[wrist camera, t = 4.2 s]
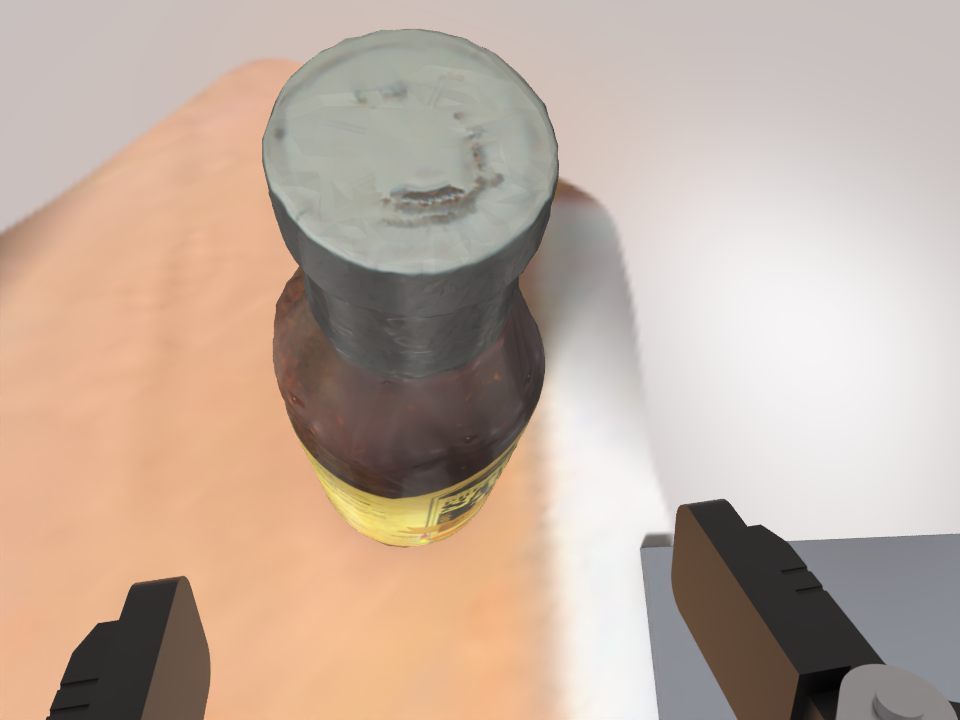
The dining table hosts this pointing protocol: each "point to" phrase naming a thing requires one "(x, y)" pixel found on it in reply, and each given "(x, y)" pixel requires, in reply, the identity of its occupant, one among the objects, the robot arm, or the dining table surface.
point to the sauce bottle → (409, 273)
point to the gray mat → (859, 593)
